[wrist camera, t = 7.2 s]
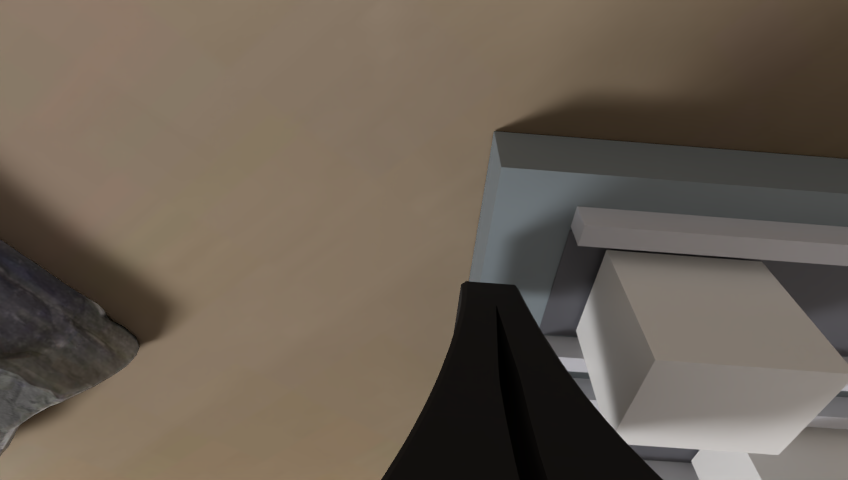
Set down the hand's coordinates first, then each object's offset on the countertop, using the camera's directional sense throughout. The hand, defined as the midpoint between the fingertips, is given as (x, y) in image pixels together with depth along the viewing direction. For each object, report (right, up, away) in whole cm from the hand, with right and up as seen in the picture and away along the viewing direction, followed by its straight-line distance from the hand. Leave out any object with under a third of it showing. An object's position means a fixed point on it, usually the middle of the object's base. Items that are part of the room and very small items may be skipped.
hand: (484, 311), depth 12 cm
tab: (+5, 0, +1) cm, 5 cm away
